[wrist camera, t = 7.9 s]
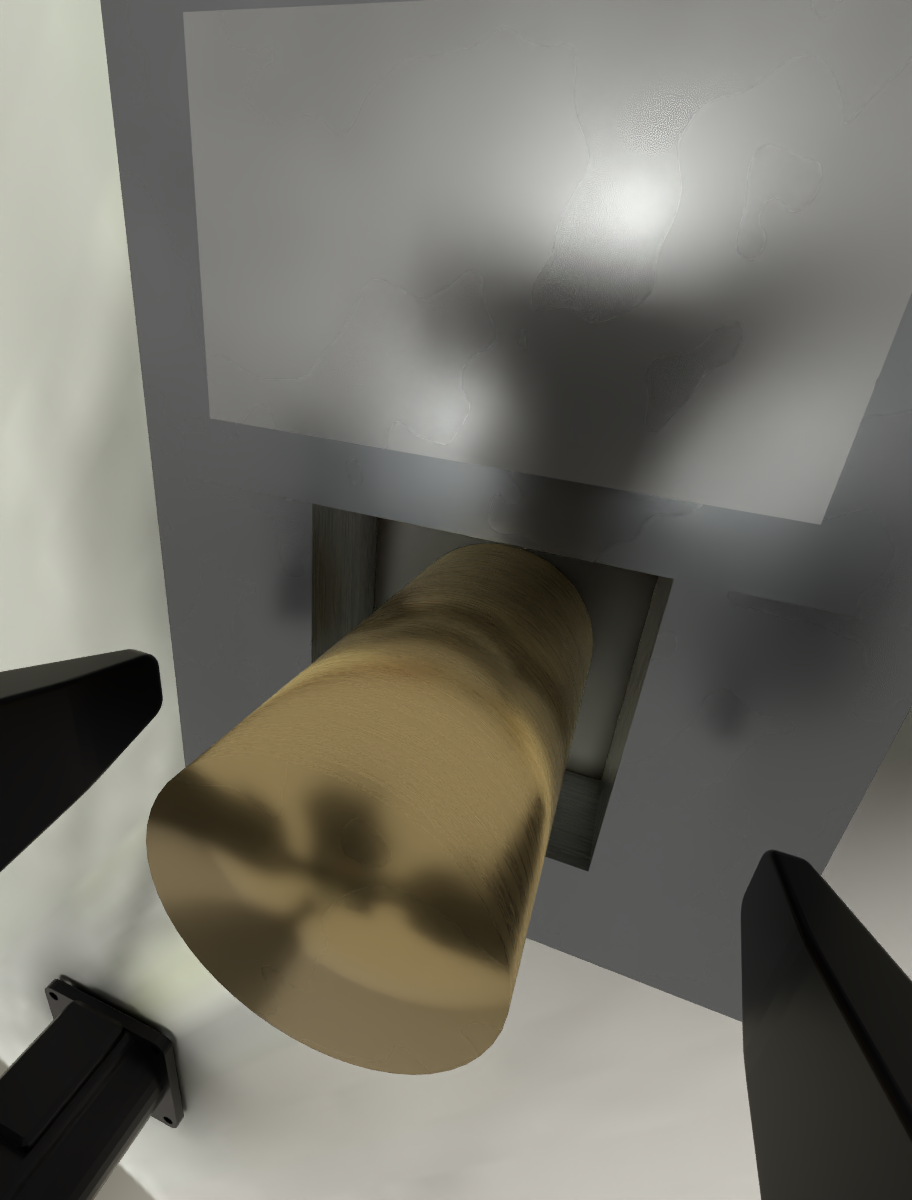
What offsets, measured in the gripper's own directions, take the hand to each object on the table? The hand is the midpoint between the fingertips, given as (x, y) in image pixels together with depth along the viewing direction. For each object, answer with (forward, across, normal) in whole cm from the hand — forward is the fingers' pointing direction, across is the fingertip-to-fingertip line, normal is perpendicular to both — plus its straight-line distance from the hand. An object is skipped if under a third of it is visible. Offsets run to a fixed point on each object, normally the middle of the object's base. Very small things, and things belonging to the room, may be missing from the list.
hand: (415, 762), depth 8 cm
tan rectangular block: (+4, 0, 0) cm, 4 cm away
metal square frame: (+4, 0, -2) cm, 5 cm away
